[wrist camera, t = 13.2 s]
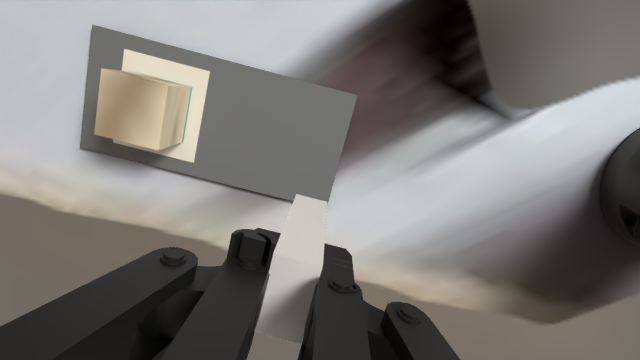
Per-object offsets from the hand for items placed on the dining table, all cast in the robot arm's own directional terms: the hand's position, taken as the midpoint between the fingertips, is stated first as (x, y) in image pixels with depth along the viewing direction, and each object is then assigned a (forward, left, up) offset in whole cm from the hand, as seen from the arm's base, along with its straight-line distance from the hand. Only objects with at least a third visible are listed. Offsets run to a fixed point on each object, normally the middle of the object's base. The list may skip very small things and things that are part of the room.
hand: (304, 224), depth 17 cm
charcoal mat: (+11, 0, -24) cm, 26 cm away
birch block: (+17, 0, -17) cm, 24 cm away
